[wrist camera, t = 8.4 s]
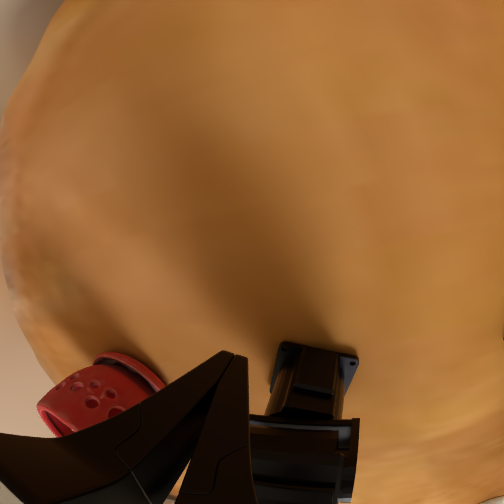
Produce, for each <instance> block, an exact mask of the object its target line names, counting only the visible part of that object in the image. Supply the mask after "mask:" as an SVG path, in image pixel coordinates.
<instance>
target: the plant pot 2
mask: <svg viewBox="0 0 504 504" xmlns="http://www.w3.org/2000/svg"><path fill="white" fill-rule="evenodd" d="M164 387H166V386H165V385H164V383H163V382H162V381H161V380H160V379H159V378H158V377H157V376H156V375H155V374H154V373H153V372H152V371H151V370H150V369H148V368H147V367H146V366H144V365H143V364H141V363H140V362H138V361H137V360H135V359H133V358H131V357H129V356H126V355H124V354H121V353H116V352H104V353H101V354H99V355H97V356H96V357H95V359H94V361H93V366H90V367H87V368H84V369H81V370H79V371H77V372H75V373H73V374H71V375H70V376H68V377H67V378H66V379H64V380H63V381H62V382H60V383H59V384H58V385H56V386H55V387H54V388H53V389H51V390H50V391H49V392H48V393H47V394H46V395H45V396H44V397H43V398H42V399H41V400H40V401H39V402H38V403H37V410H38V412H39V414H40V416H41V418H42V419H43V421H44V422H45V423H46V425H47V426H48V427H49V429H50V430H51V431H52V432H53V434H55V436H56V437H62V436H66V435H69V434H72V433H74V432H77V431H80V430H82V429H85V428H87V427H90V426H92V425H95V424H97V423H100V422H102V421H104V420H107V419H109V418H111V417H113V416H116V415H118V414H119V413H121V412H123V411H125V410H127V409H129V408H130V407H132V406H134V405H136V404H137V403H140V402H141V401H142V400H144V399H146V398H147V397H149V396H151V395H152V394H154V393H156V392H157V391H159V390H161V389H162V388H164ZM72 430H73V431H72Z"/></svg>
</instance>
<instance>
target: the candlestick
mask: <svg viewBox="0 0 504 504" xmlns="http://www.w3.org/2000/svg"><path fill="white" fill-rule="evenodd" d="M480 504H504V496H501V497H497V498H494V499H491V500H488V501H485V502H482V503H480Z"/></svg>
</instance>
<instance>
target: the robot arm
mask: <svg viewBox="0 0 504 504" xmlns="http://www.w3.org/2000/svg"><path fill="white" fill-rule="evenodd" d="M283 347H286V348H287V349H285V348H283ZM351 361H354V362H351ZM358 365H359V358H358V357H357V356H354V355H348V354H343V353H338V352H333V351H328V350H323V349H318V348H313V347H309V346H304V345H300V344H295V343H291V342H285V341H284V342H281V343H280V345H279V348H278V353H277V358H276V363H275V368H274V372H273V377H272V382H271V387H270V393H271V396H270V399H269V402H268V405H267V408H266V411H265V414H264V415H255V414H249V381H248V358H247V357H244V356H241V355H237V354H236V355H234V354H233V353H231V352H228V351H224V350H222V351H220V352H219V353H217V354H216V355H214V356H212V357H211V358H209V359H208V360H206V361H205V362H203V363H202V364H200V365H199V366H197V367H196V368H194V369H193V370H191V371H189V372H188V373H186V374H185V375H183V376H182V377H180V378H178V379H177V380H175V381H174V382H172V383H170V384H169V385H167V386H166V387H164V388H162V389H161V390H159V391H157V392H156V393H154V394H152V395H151V396H149V397H147V398H146V399H144V400H142V401H141V402H140V403H137V404H136V405H134V406H132V407H130V408H129V409H127V410H125V411H123V412H121V413H119V414H118V415H116V416H113V417H111V418H109V419H107V420H104V421H102V422H100V423H97V424H95V425H92V426H90V427H87V428H85V429H82V430H80V431H77V432H74V433H72V434H69V435H66V436H62V437H56V438H40V437H30V436H20V435H12V434H5V433H0V504H163V502H164V501H165V500H166V498H167V496H168V495H169V493H170V492H171V490H172V489H173V487H174V485H175V484H176V482H177V480H178V479H179V477H180V476H181V474H182V472H183V471H184V469H185V467H186V466H187V464H188V463H189V461H190V463H189V466H188V469H187V471H186V474H185V477H184V479H183V482H182V485H181V488H180V490H179V494H178V496H177V498H176V501H175V503H174V504H338V502H339V503H350V502H351V498H352V492H353V487H354V480H355V473H356V464H357V454H358V441H359V425H360V418H352V419H342V411H343V402H344V396H345V393H346V391H347V389H348V387H349V385H350V383H351V381H352V378H353V376H354V374H355V372H356V370H357V367H358ZM190 459H191V460H190Z"/></svg>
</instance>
